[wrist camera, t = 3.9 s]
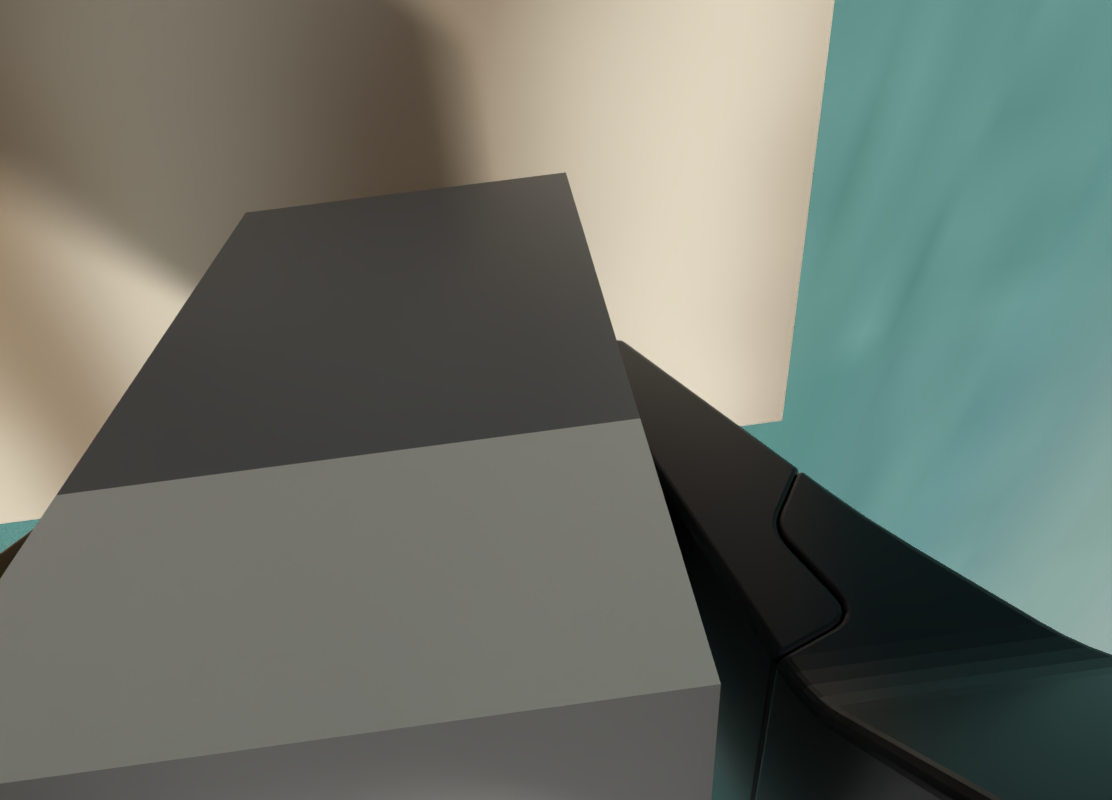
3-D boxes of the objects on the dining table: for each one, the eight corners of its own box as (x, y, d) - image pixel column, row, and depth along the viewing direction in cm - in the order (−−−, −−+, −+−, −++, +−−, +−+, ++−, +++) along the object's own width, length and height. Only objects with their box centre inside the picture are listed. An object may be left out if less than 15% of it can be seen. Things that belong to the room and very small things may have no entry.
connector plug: (335, 453, 11) (199, 1033, 6) (245, 212, 9) (-152, 804, 3) (587, 420, 11) (698, 961, 6) (566, 172, 9) (720, 682, 3)
